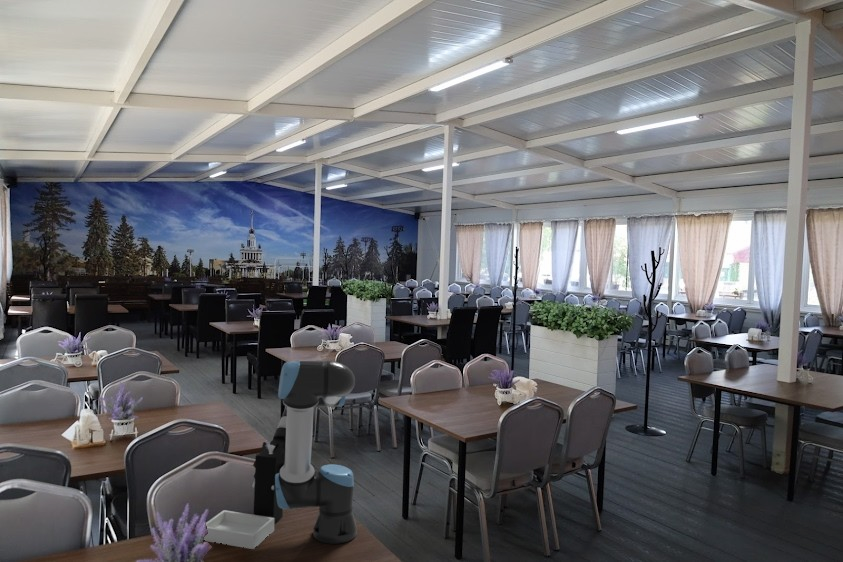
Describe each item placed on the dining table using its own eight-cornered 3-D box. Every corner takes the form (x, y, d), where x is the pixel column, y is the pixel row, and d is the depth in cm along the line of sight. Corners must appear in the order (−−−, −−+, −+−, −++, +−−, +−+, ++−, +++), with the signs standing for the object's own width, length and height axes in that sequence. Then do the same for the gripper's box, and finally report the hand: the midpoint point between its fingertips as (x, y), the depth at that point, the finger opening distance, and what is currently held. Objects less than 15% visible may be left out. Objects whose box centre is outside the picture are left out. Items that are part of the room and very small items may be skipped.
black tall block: (273, 526, 211) (276, 449, 210) (252, 523, 212) (255, 446, 211) (282, 517, 219) (285, 442, 217) (262, 514, 220) (266, 440, 219)
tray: (274, 530, 208) (274, 518, 208) (253, 549, 194) (253, 535, 194) (223, 522, 212) (223, 510, 212) (199, 540, 199) (200, 526, 199)
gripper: (312, 439, 227) (292, 497, 212) (266, 433, 232) (242, 489, 217) (307, 429, 222) (285, 487, 206) (259, 423, 226) (235, 480, 211)
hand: (263, 488), depth 212 cm, fingers closed on black tall block, 7 cm apart
